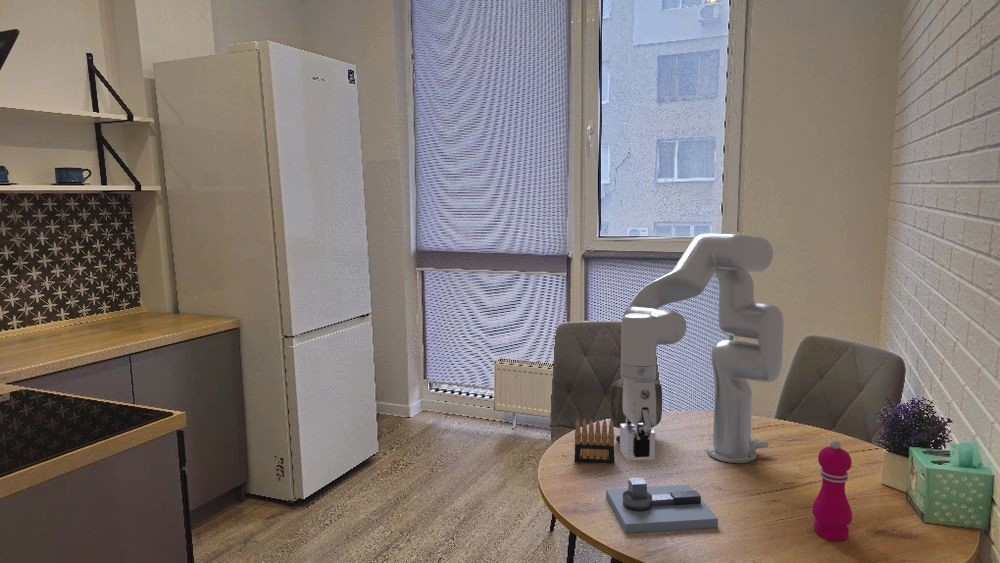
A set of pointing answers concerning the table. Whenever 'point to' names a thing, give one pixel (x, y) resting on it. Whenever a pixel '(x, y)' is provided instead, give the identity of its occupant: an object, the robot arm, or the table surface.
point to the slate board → (661, 513)
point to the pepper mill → (833, 494)
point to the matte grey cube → (628, 442)
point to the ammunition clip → (593, 451)
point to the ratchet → (654, 497)
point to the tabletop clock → (617, 404)
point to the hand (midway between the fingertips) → (636, 449)
